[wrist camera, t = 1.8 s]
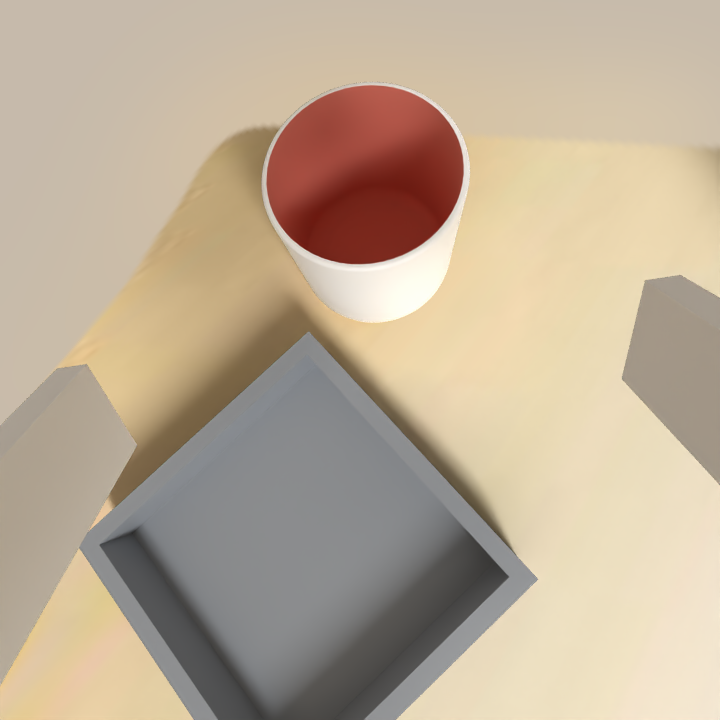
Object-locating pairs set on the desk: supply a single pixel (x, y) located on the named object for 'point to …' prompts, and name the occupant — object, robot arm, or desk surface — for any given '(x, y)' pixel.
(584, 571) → the desk surface
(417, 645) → the tray
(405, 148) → the cup
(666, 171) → the desk surface
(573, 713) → the desk surface
